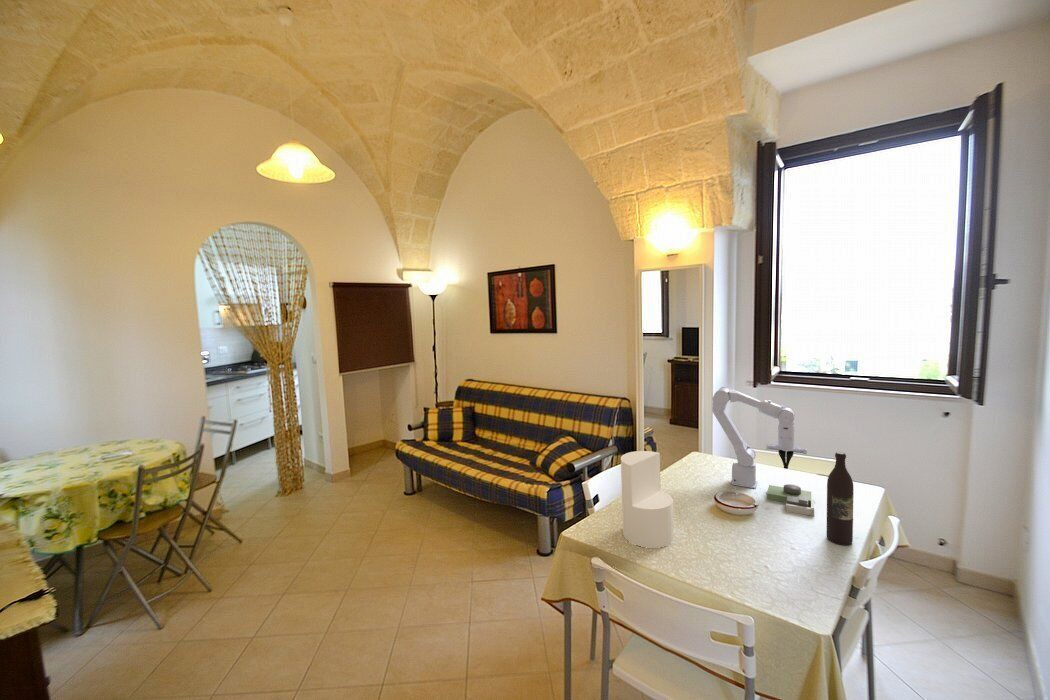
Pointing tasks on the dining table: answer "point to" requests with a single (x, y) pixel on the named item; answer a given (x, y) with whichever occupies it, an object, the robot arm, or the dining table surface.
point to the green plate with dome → (791, 490)
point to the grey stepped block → (798, 500)
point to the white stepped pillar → (645, 501)
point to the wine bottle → (840, 503)
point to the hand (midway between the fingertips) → (786, 467)
